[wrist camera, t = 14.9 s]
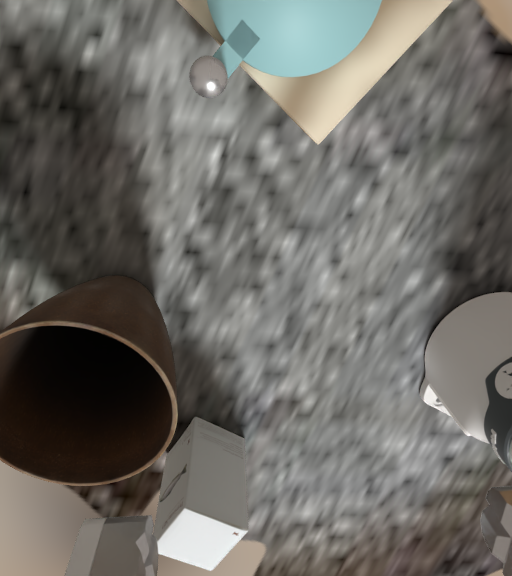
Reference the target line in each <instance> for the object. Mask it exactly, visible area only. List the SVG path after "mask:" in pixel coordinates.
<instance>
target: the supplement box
mask: <svg viewBox="0 0 512 576" xmlns="http://www.w3.org/2000/svg"><path fill="white" fill-rule="evenodd" d="M247 532H248V505H247V479H246V454H245V439H244V438H242V437H240V436H238V435H236V434H234V433H232V432H229V431H227V430H225V429H223V428H221V427H219V426H216V425H214V424H212V423H210V422H207V421H205V420H203V419H201V418H198V417H194V418H193V420H192V422H191V423H190V425H189V426H188V428H187V429H186V430H185V432H184V433H183V435H182V436H181V437H180V439H179V440H178V441H177V443H176V444H175V445H174V446H173V448H172V449H171V450H170V451H169V453H168V454H167V456H166V462H165V467H164V473H163V479H162V485H161V490H160V496H159V503H158V508H157V515H156V520H155V527H154V533H153V535H154V536H155V537H156V539H157V544H158V554H161V555H164V556H168V557H170V558H173V559H176V560H179V561H182V562H185V563H188V564H191V565H194V566H198V567H201V568H204V569H206V570H209V571H212V570H213V569H214V568H215V567H216V566H217V565H218V563H219V562H220V561H221V560H222V559H223V558H224V557H225V556H226V555H227V554H228V553H229V552H230V551H231V550H232V548H233V547H234V546H235V545H236V544H237V543H238V542H239V540H240V539H241V538H242V537H243V536H244V535H245V534H246V533H247Z"/></svg>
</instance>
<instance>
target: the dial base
mask: <svg viewBox="0 0 512 576" xmlns="http://www.w3.org/2000/svg"><path fill="white" fill-rule="evenodd" d="M177 1H178V2H179V3H180V4H181V6H182V7H183V8H184V9H185V10H186V11H187V12H188V13H189V14H190V15H191V16H192V17H193V18H194V19H195V20H196V21H197V22H198V23H199V24H200V25H201V26H202V27H203V28H204V29H205V30H206V31H207V32H208V33H209V34H210V35H211V36H212V37H213V38H214V39H215V40H216V41H217V42H218V44H219V45H220V46H221V45H222V44H223V43H224V40H223V38H222V37H221V35H220V34H219V32H218V30H217V28H216V26H215V24H214V22H213V19H212V16H211V13H210V11H209V7H208V3H207V0H177ZM452 1H453V0H382V2H381V4H380V7H379V10H378V13H377V15H376V17H375V19H374V21H373V23H372V25H371V27H370V29H369V30H368V32H367V33H366V35H365V37H364V38H363V39H362V40H361V42H360V43H359V44H358V45H357V47H356V48H355V49H354V50H353V51H352V52H350V53H349V54H348V55H347V56H346V57H345V58H343V59H342V60H341V61H340V62H338V63H337V64H335V65H333V66H331V67H330V68H328V69H326V70H323V71H321V72H318V73H315V74H311V75H307V76H300V77H280V76H274V75H270V74H267V73H264V72H261V71H259V70H257V69H255V68H253V67H251V66H250V65H248V64H247V63H245V62H244V61H242V62H241V63H240V64H239V65H240V66H241V67H242V68H243V69H244V70H245V71H246V72H247V73H248V74H249V75H250V76H251V77H252V78H253V79H254V80H255V82H256V83H257V84H258V85H259V86H260V87H261V88H262V89H263V90H264V91H265V92H266V93H267V94H268V95H269V96H270V97H271V98H272V99H273V100H274V101H275V102H276V103H277V104H278V105H279V106H280V107H281V108H282V109H283V110H284V111H285V112H286V113H287V114H288V115H289V116H290V117H291V118H292V120H293V121H294V122H295V123H296V124H297V125H298V126H299V127H300V128H301V129H302V130H303V131H304V132H305V133H306V134H307V135H308V136H309V137H310V138H311V139H312V140H313V141H314V142H315V143H317V144H319V143H320V142H321V141H322V140H323V139H324V138H325V137H326V136H327V135H328V134H329V133H330V132H331V131H332V129H333V128H334V127H335V126H336V125H337V124H338V123H339V122H340V121H341V120H342V119H343V118H344V117H345V116H346V114H347V113H348V112H349V111H350V110H351V109H352V108H353V107H354V106H355V105H356V104H357V103H358V102H359V101H360V99H361V98H362V97H363V96H364V95H365V94H366V93H367V92H368V91H369V90H370V89H371V88H372V87H373V85H374V84H375V83H376V82H377V81H378V80H379V79H380V78H381V77H382V76H383V75H384V74H385V73H386V72H387V70H388V69H389V68H390V67H391V66H392V65H393V64H394V63H395V62H396V61H397V60H398V59H399V58H400V57H401V55H402V54H403V53H404V52H405V51H406V50H407V49H408V48H409V47H410V46H411V45H412V44H413V43H414V42H415V40H416V39H417V38H418V37H419V36H420V35H421V34H422V33H423V32H424V31H425V30H426V29H427V28H428V26H429V25H430V24H431V23H432V22H433V21H434V20H435V19H436V18H437V17H438V16H439V15H440V14H441V13H442V11H443V10H444V9H445V8H446V7H447V6H448V5H449V4H450V3H451V2H452Z"/></svg>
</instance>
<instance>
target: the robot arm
mask: <svg viewBox="0 0 512 576" xmlns="http://www.w3.org/2000/svg"><path fill="white" fill-rule="evenodd" d="M425 370H426V374H425V378H424V381H423V383H422V386H421V389H420V397H421V398H422V399H423V401H424V402H425V403H427V404H428V405H430V406H432V407H434V408H436V409H438V410H440V411H442V412H444V413H446V414H448V415H450V416H452V417H453V419H454V420H455V421H456V423H457V424H458V425H459V427H460V428H461V429H462V431H463V432H464V433H465V434H466V435H468V436H471V435H472V436H473V437H475V438H477V439H479V440H481V441H483V442H486V443H489V444H491V446H492V447H493V449H494V451H495V453H496V454H497V456H498V457H499V458H500V460H501V461H502V462H503V463H504V464H506V466H507V467H508V468H509V469H510V470H511V472H512V292H497V293H490V294H486V295H482V296H479V297H476V298H474V299H471V300H469V301H467V302H465V303H463V304H462V305H460V306H459V307H457V308H456V309H454V310H453V311H452V312H450V313H449V314H448V315H447V316H446V317H445V318H444V319H443V320H442V321H441V322H440V323H439V325H438V326H437V327H436V329H435V330H434V332H433V333H432V335H431V337H430V339H429V342H428V344H427V347H426V352H425ZM437 398H438V399H437ZM486 499H487V501H488V503H489V504H490V505H489V506H488V507H486V508H485V509H484V510H483V511H482V516H481V528H482V534H483V536H484V539H485V542H486V544H487V546H488V548H489V549H490V551H491V553H492V554H493V555H494V556H496V557H497V558H498V559H500V560H501V561H502V562H504V563H503V575H504V576H512V486H503V487H492V488H491V489H490V490H488V493H487V496H486ZM152 532H153V521H152V516H151V515H149V516H130V517H111V518H96V519H85V521H84V523H83V524H82V525H81V527H80V530H79V533H78V537H77V539H76V542H75V545H74V549H73V552H72V554H71V557H70V560H69V564H68V567H67V570H66V573H65V576H157V570H158V544H157V539H156V537H155V536H154V535H152Z"/></svg>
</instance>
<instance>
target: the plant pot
mask: <svg viewBox="0 0 512 576" xmlns="http://www.w3.org/2000/svg"><path fill="white" fill-rule="evenodd" d="M177 417H178V409H177V386H176V374H175V365H174V358H173V353H172V348H171V343H170V339H169V335H168V332H167V328H166V325H165V322H164V319H163V317H162V314H161V312H160V309H159V307H158V305H157V303H156V301H155V300H154V298H153V296H152V295H151V293H150V292H149V290H148V289H147V288H146V287H145V286H144V285H142V284H141V283H140V282H138V281H136V280H134V279H132V278H129V277H126V276H119V275H112V276H106V277H101V278H97V279H94V280H90V281H87V282H84V283H82V284H79V285H77V286H74V287H72V288H70V289H68V290H65V291H63V292H61V293H59V294H57V295H56V296H54V297H52V298H50V299H48V300H46V301H45V302H43V303H41V304H40V305H38V306H36V307H35V308H33V309H32V310H30V311H29V312H27V313H26V314H24V315H23V316H21V317H20V318H19V319H17V320H16V321H15V322H13V323H12V324H11V325H9V326H8V327H6V328H5V329H4V330H2V331H1V332H0V460H1V461H2V462H4V463H5V464H7V465H9V466H10V467H12V468H14V469H16V470H18V471H20V472H22V473H25V474H27V475H29V476H32V477H34V478H38V479H41V480H44V481H48V482H53V483H58V484H64V485H74V486H89V485H100V484H107V483H112V482H116V481H120V480H122V479H125V478H128V477H131V476H133V475H135V474H137V473H139V472H141V471H142V470H144V469H146V468H147V467H149V466H150V465H151V464H152V463H154V462H155V461H156V460H157V459H158V458H159V457H160V456H161V455H162V454H163V453H164V451H165V450H166V448H167V447H168V445H169V444H170V442H171V440H172V438H173V435H174V433H175V429H176V425H177Z"/></svg>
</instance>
